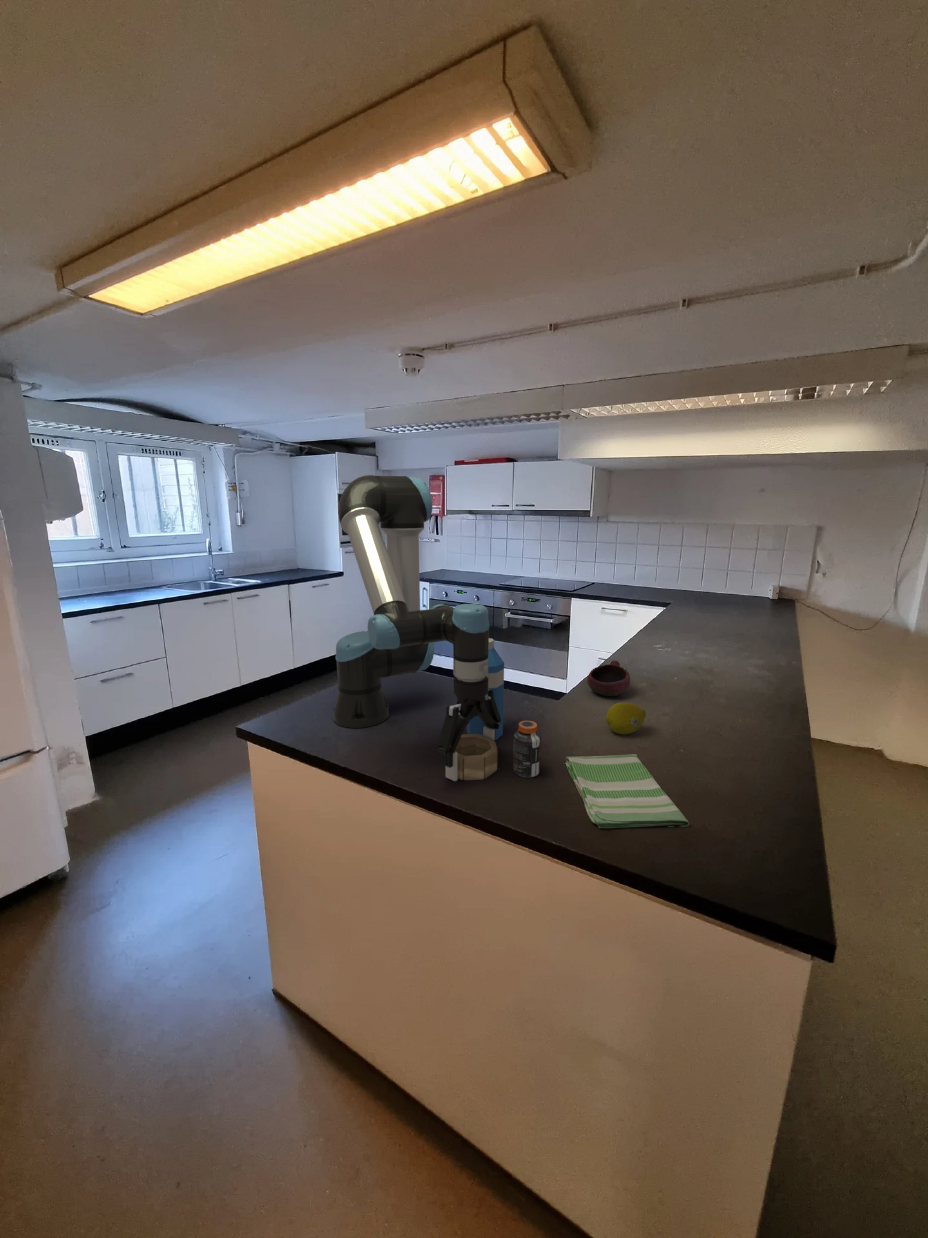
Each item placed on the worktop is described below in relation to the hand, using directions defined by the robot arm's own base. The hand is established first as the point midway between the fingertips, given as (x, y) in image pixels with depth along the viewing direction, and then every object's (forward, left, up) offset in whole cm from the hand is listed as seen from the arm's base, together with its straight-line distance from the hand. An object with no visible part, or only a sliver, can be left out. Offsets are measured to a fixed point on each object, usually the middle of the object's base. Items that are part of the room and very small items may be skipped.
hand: (471, 766), depth 109 cm
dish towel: (+30, +11, -1) cm, 32 cm away
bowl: (+6, +62, 0) cm, 62 cm away
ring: (0, 0, 0) cm, 0 cm away
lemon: (+21, +38, 0) cm, 43 cm away
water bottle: (-7, +15, 0) cm, 17 cm away
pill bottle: (+11, +6, 0) cm, 12 cm away
